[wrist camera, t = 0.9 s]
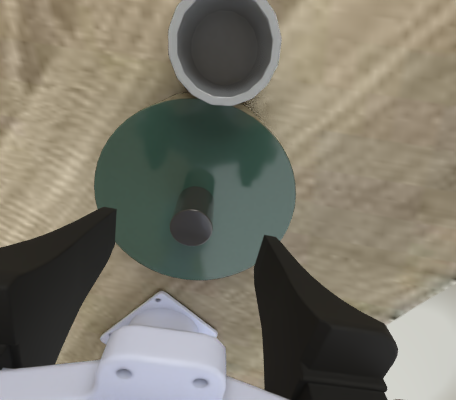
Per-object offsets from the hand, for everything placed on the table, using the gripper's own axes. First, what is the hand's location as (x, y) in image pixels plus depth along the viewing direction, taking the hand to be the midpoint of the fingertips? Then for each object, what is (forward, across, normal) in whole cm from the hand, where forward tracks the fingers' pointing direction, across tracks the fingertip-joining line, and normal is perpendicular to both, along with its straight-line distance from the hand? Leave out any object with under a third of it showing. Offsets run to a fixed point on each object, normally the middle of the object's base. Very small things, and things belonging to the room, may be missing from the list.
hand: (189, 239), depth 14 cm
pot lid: (+6, 0, +1) cm, 6 cm away
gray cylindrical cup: (+10, 0, -8) cm, 13 cm away
